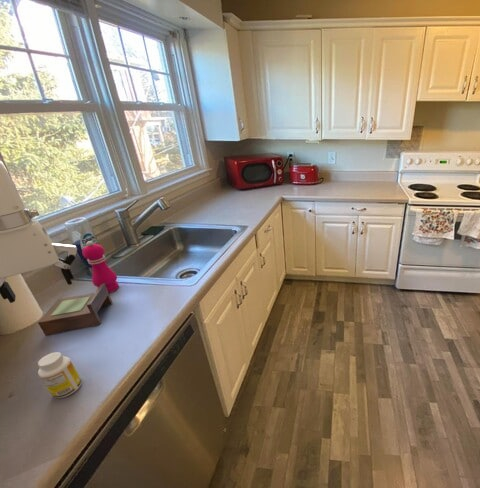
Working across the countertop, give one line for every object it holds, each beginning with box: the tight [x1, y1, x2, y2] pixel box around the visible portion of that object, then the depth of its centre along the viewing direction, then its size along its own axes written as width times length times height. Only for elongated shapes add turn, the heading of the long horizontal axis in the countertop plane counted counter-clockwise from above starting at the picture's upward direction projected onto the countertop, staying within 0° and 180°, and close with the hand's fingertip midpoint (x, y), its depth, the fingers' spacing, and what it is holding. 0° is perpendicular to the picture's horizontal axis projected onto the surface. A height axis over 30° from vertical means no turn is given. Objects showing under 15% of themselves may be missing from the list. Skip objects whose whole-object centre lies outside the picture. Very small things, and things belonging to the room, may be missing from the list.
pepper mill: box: [81, 240, 120, 294], centre depth 101 cm, size 7×7×20 cm
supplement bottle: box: [37, 351, 83, 399], centre depth 65 cm, size 6×6×10 cm
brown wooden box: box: [37, 284, 113, 336], centre depth 89 cm, size 14×12×8 cm
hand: (42, 290), depth 64 cm, fingers open, 9 cm apart
